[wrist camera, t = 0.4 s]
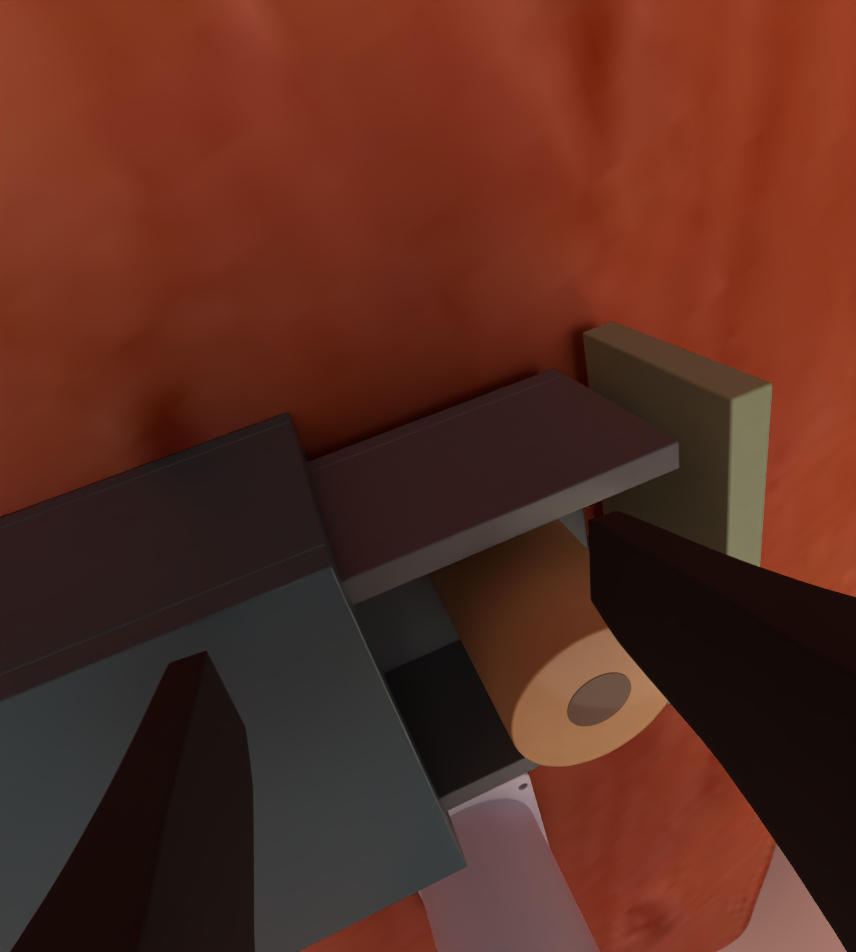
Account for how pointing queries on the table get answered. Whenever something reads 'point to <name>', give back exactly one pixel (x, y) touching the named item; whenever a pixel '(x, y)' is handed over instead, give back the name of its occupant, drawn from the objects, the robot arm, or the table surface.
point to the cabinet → (239, 666)
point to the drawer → (531, 511)
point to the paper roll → (546, 648)
